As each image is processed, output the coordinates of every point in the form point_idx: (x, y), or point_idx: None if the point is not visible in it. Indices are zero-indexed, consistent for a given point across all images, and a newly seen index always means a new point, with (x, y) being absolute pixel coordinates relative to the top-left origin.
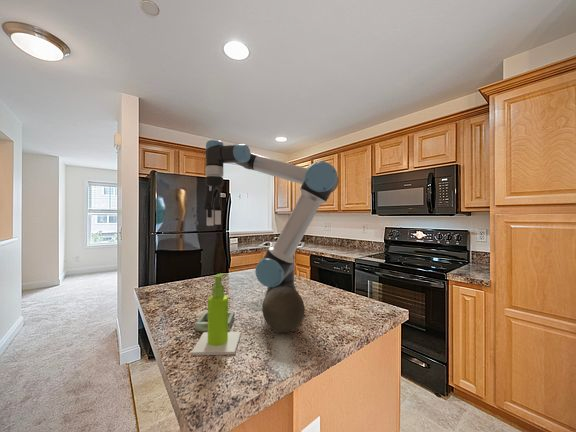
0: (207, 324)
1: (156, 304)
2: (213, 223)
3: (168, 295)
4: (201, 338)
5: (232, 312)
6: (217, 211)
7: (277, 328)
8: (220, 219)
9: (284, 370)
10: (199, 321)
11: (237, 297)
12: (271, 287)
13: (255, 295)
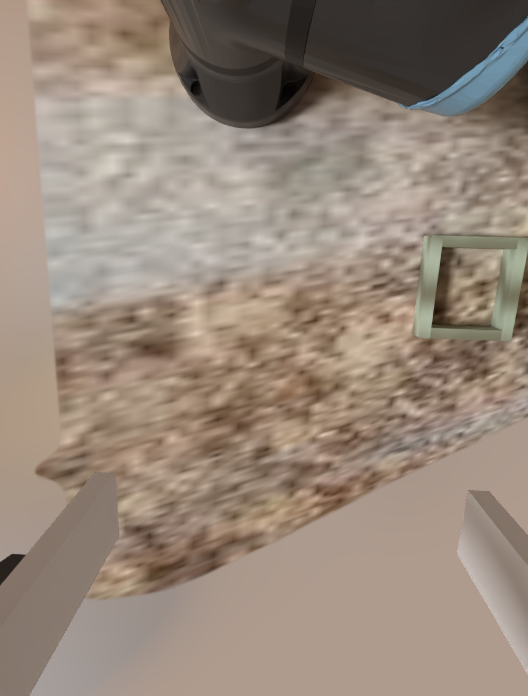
0: (516, 304)
1: (274, 506)
2: (485, 505)
3: (185, 502)
4: None
5: (440, 240)
6: (9, 674)
7: None
8: (85, 514)
9: None
10: (497, 332)
11: (212, 252)
12: (281, 71)
13: (187, 176)
